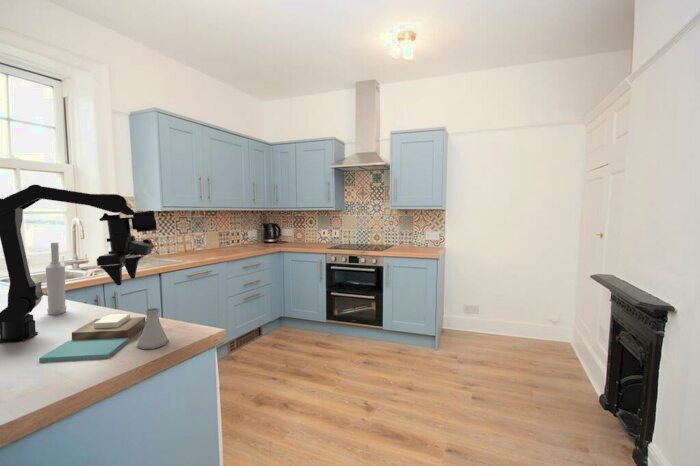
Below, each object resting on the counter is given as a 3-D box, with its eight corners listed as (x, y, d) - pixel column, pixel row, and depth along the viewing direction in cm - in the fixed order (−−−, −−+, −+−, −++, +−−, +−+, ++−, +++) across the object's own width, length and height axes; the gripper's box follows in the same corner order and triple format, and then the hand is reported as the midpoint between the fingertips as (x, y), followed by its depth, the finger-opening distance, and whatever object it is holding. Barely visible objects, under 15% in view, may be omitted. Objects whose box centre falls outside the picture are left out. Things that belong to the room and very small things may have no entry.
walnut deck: (71, 343, 92) (71, 332, 91) (96, 328, 103) (96, 318, 103) (127, 340, 94) (127, 330, 94) (145, 326, 106) (145, 316, 106)
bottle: (55, 310, 120) (52, 241, 119) (70, 310, 121) (68, 242, 119) (43, 314, 115) (40, 243, 114) (59, 314, 116) (56, 243, 114)
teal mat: (39, 361, 80) (39, 358, 80) (68, 344, 91) (68, 340, 91) (108, 358, 83) (108, 354, 83) (129, 341, 94) (128, 337, 94)
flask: (154, 351, 88) (153, 314, 87) (130, 348, 89) (130, 312, 88) (173, 341, 95) (173, 306, 94) (152, 338, 96) (151, 304, 95)
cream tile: (94, 328, 95) (93, 323, 95) (108, 319, 103) (108, 314, 103) (117, 327, 96) (117, 322, 96) (130, 318, 104) (130, 313, 104)
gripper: (134, 235, 98) (140, 286, 100) (158, 229, 116) (163, 273, 118) (92, 238, 96) (99, 290, 98) (123, 231, 114) (129, 276, 116)
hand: (126, 281), depth 107 cm, fingers open, 9 cm apart
